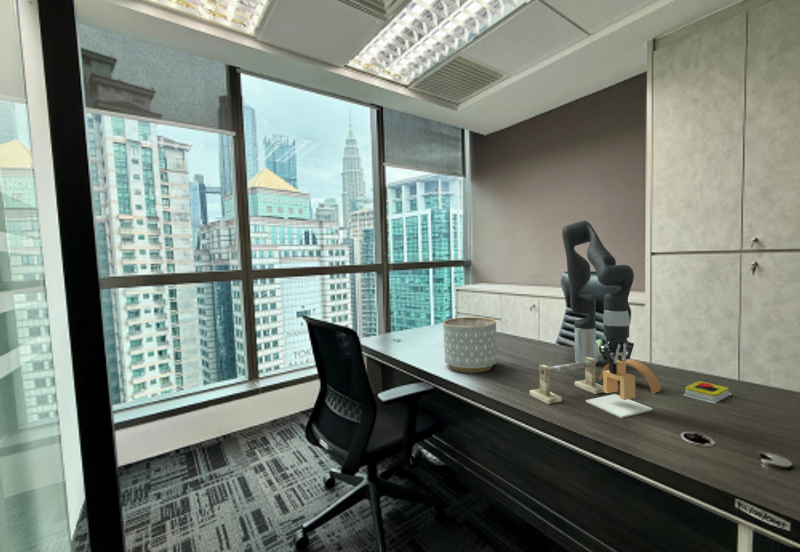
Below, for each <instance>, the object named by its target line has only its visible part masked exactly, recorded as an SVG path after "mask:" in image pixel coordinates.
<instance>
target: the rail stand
mask: <svg viewBox="0 0 800 552" xmlns="http://www.w3.org/2000/svg"><path fill="white" fill-rule="evenodd" d="M538 367H539V368H538V369H539V388H536V389H531V390H530V389H529V395H530V396H532V397H534V398H536V399H538V400H539V401H542V402H543V403H546V404H547V405H551V404H555V403H559V402H562V398H563V397H562V396H560V395H558V394H556V393H553V392H552V391H551V381H550V378H551V376H550V375H551V374H556V373H557V374H558V373H563V372H567V371H572V370H579V369H584V372H585V373H584V378H585V379H581V380H575V381H574V386H575V387H577V388H579V389H583V390H585V391H587V392H590V393H591V394H594V395H595V394H596V395H597V394H602V393H604V392H603V385H602V384H599V383H596V381H597V380H596V379H597V378H596V364H595V359H594V358H590V357H586V358H585V361H582V362H571V363H565V364H559V365H553V366H549V365H545V364H541V365H540V364H539V365H538Z"/></svg>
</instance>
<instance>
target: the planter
mask: <svg viewBox="0 0 800 552" xmlns="http://www.w3.org/2000/svg"><path fill="white" fill-rule="evenodd" d="M442 325H443V326H442V329H443V331H442V332H443V347H444V348H443V349H444V352H443V353H444V362H445V364H447V365H448V366H449V367H450V368H451V369H452V370H453V371H456V372H461V373H468V374H470V373H471V374H472V373H473V374H475V373H477V374H478V373H484V372H488V371H490V370H491V369H492V367H493V366H495V365H496V364H497V363H498V344H497V343H498V341H497V322H496V320H495V319H492V318H487V317H478V316H477V317H473V316H472V317H470V316H469V317H455V318H449V319H446V320H444V321H443V322H442Z"/></svg>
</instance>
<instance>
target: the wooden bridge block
mask: <svg viewBox="0 0 800 552" xmlns="http://www.w3.org/2000/svg"><path fill="white" fill-rule="evenodd" d="M616 364H617V374H612V373H610V371H609V370H606V371H603V380H602V381H603V383H602V384H603V385H602V386H603V392H602V393H605V394H611V393H614V392H615V393H616V392H619V396H620V399H623V400H627V399H629V400H631V399H635V398H636V375H634V374H631V373H627V365H626V362H623V361H619V360H617V361H616Z"/></svg>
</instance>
